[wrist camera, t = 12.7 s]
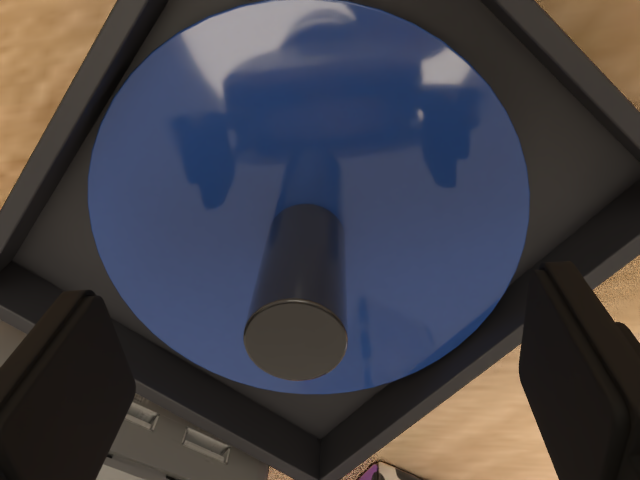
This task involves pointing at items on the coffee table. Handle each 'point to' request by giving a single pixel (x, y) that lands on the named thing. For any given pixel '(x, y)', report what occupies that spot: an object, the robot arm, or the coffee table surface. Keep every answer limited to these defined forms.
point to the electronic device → (161, 442)
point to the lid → (308, 195)
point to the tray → (388, 399)
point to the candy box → (386, 473)
